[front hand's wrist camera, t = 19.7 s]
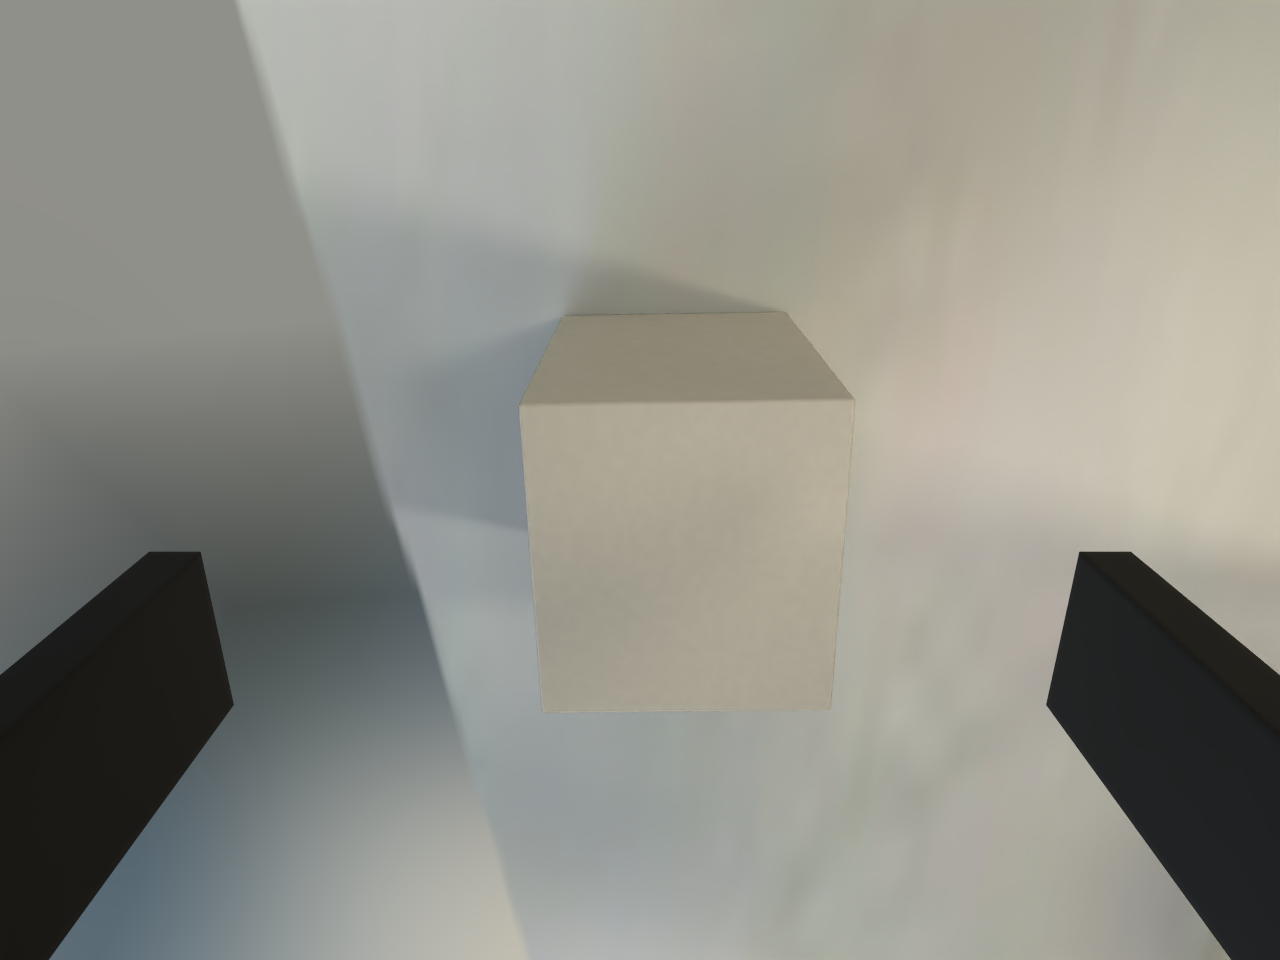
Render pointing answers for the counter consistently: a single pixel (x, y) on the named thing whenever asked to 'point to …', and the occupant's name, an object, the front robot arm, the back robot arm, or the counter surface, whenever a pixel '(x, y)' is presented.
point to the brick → (685, 513)
